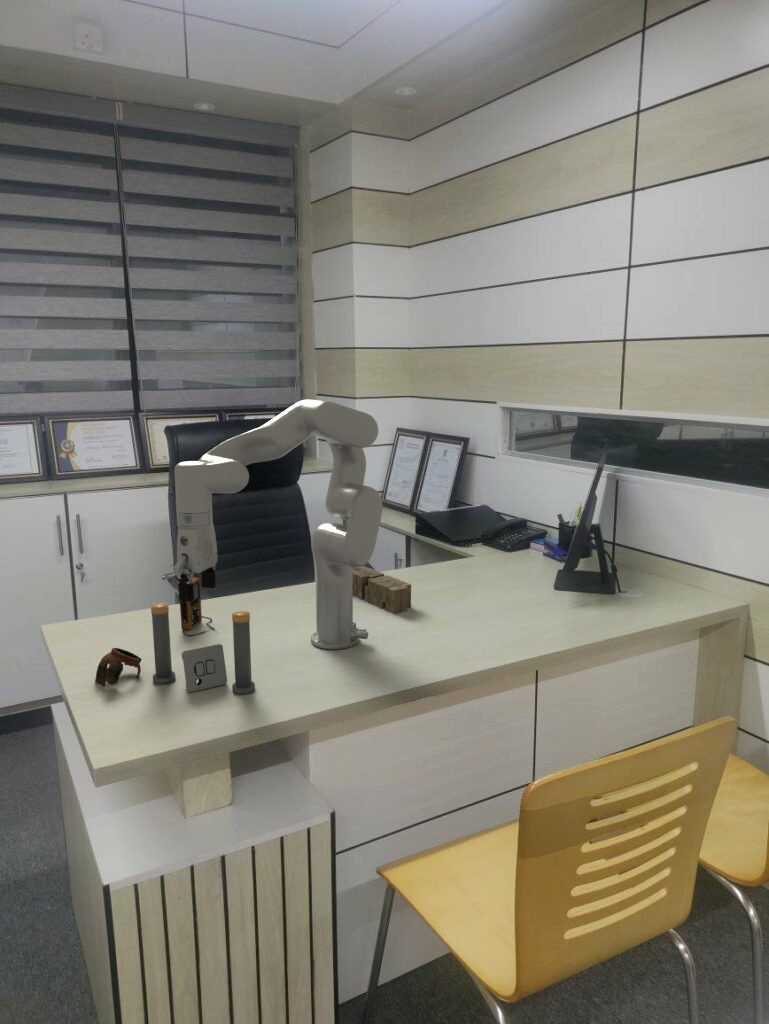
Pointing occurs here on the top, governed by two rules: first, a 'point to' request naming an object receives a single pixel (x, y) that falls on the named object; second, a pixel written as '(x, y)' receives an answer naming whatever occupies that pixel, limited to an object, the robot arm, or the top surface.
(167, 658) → the post far
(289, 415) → the robot arm
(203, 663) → the electrical switch
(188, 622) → the multimeter
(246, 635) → the post near
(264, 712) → the top surface
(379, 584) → the block tower
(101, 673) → the brown curved hollow piece
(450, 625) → the top surface
